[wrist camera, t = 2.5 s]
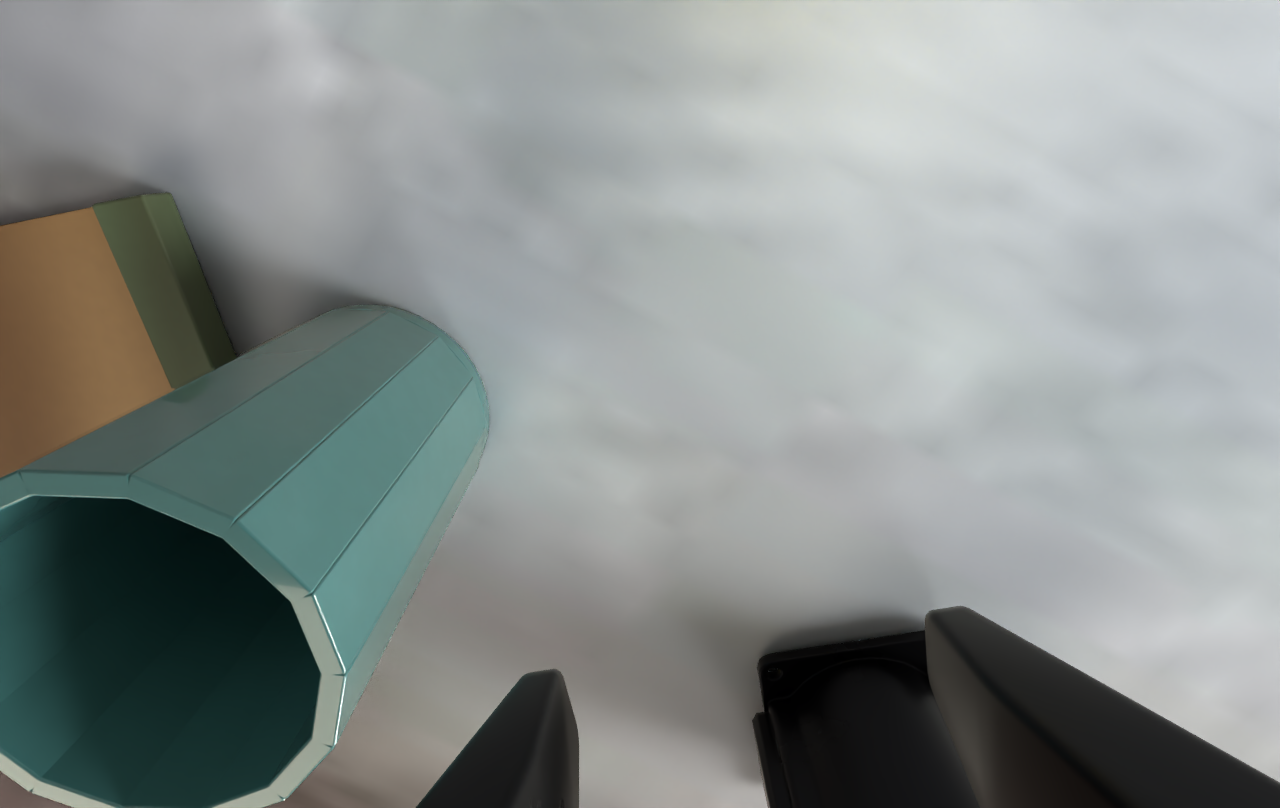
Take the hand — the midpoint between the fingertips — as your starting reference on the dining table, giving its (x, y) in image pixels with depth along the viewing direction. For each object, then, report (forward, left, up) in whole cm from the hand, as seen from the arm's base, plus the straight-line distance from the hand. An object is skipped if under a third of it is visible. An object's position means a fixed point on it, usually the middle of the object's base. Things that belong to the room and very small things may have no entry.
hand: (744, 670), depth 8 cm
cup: (+9, 0, -13) cm, 16 cm away
